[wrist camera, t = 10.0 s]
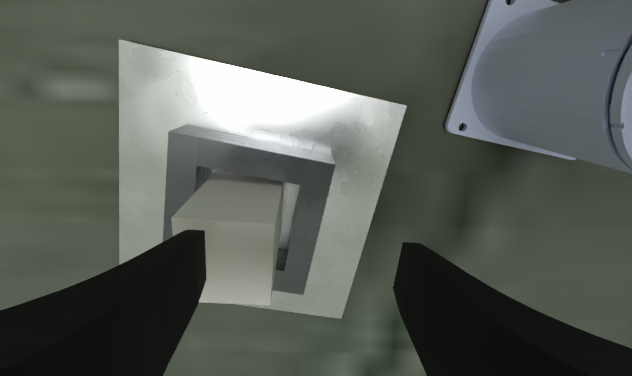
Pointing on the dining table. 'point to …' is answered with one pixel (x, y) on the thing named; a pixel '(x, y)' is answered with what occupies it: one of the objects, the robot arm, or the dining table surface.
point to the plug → (236, 235)
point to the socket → (254, 162)
